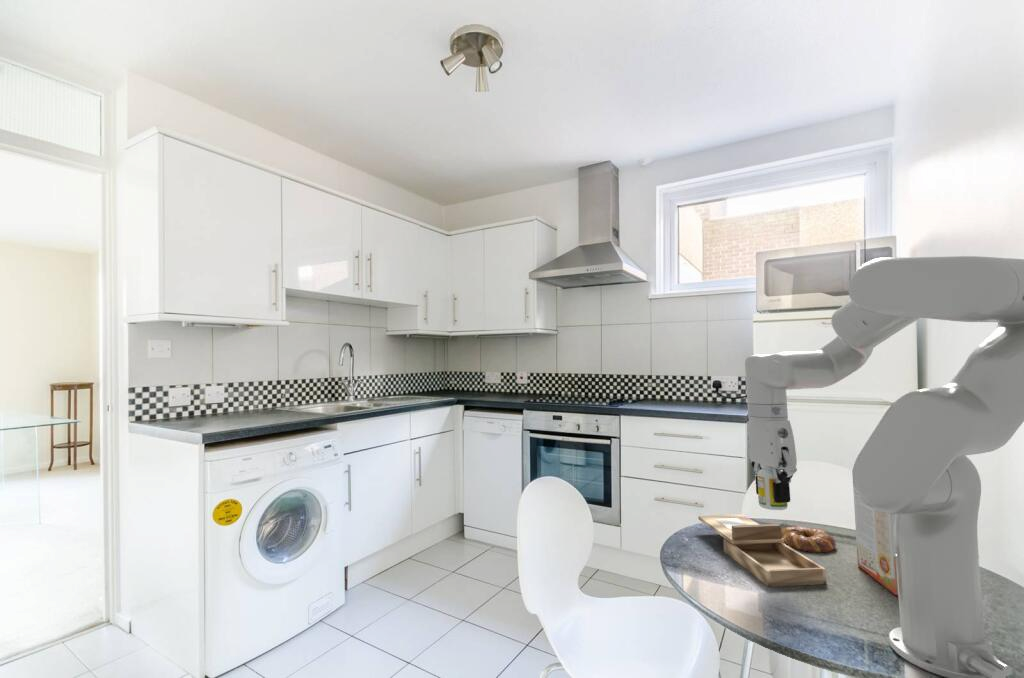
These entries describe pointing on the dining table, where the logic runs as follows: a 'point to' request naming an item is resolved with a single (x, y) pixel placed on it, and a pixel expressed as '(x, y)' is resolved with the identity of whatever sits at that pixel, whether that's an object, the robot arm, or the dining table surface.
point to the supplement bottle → (768, 489)
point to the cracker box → (876, 543)
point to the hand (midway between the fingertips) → (772, 497)
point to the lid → (743, 529)
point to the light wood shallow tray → (776, 564)
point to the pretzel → (808, 539)
